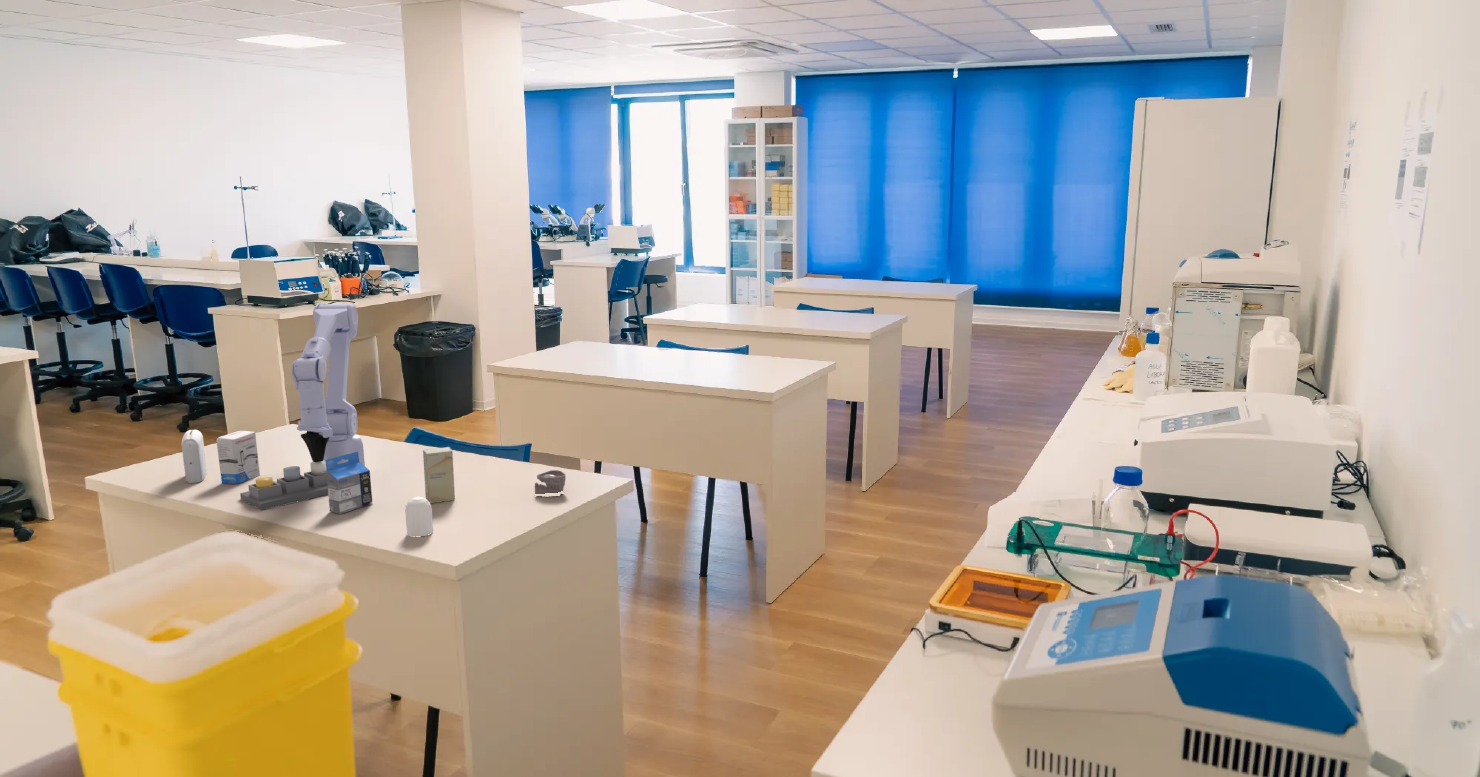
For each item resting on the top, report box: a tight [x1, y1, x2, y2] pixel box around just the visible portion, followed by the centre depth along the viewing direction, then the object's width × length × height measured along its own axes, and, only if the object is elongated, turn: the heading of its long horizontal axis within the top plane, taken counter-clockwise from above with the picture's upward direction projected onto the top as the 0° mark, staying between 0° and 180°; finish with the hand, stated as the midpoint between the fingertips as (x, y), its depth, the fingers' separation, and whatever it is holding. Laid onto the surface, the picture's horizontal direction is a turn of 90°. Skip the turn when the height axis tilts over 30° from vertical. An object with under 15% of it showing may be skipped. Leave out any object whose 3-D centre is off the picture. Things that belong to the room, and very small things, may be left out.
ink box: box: [216, 430, 261, 485], centre depth 241 cm, size 9×5×12 cm, turn 168°
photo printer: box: [181, 429, 208, 484], centre depth 242 cm, size 10×4×12 cm, turn 23°
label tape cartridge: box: [325, 451, 373, 515], centre depth 218 cm, size 9×4×12 cm, turn 148°
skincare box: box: [422, 446, 456, 504], centre depth 224 cm, size 6×4×12 cm
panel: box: [239, 471, 328, 511], centre depth 229 cm, size 20×12×4 cm, turn 138°
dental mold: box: [534, 469, 566, 495], centre depth 229 cm, size 8×7×5 cm
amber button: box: [255, 476, 274, 489], centre depth 224 cm, size 4×4×3 cm
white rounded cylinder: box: [404, 496, 434, 538], centre depth 203 cm, size 5×5×8 cm
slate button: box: [282, 465, 302, 482], centre depth 228 cm, size 4×4×3 cm
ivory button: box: [309, 460, 327, 476], centre depth 233 cm, size 4×4×3 cm
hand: (318, 461), depth 233 cm, fingers closed
